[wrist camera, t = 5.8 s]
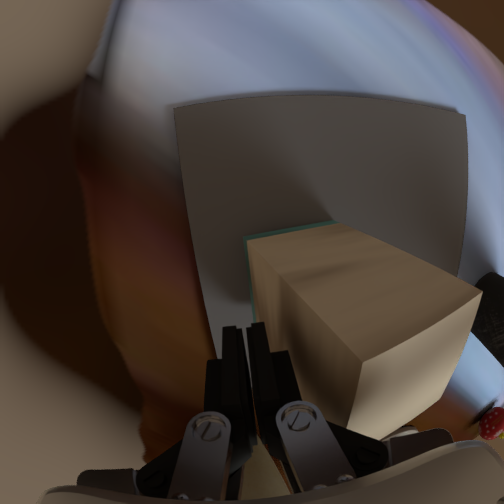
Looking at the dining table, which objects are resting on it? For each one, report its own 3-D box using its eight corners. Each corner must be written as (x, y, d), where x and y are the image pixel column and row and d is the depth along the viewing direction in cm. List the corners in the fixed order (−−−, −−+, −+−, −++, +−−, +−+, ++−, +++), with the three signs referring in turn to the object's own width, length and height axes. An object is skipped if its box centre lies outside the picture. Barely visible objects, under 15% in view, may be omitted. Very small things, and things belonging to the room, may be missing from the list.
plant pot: (293, 391, 23) (332, 545, 8) (283, 456, 28) (302, 555, 14) (139, 394, 22) (107, 539, 7) (172, 458, 28) (165, 556, 13)
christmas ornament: (502, 394, 36) (521, 419, 26) (490, 413, 39) (506, 436, 29) (480, 412, 36) (499, 439, 26) (468, 429, 39) (484, 455, 30)
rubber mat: (436, 338, 23) (439, 341, 22) (226, 385, 22) (226, 390, 22) (460, 115, 15) (465, 115, 15) (175, 109, 14) (173, 108, 14)
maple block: (332, 300, 19) (439, 398, 9) (253, 323, 18) (335, 462, 8) (333, 220, 17) (482, 291, 7) (242, 236, 16) (362, 362, 6)
